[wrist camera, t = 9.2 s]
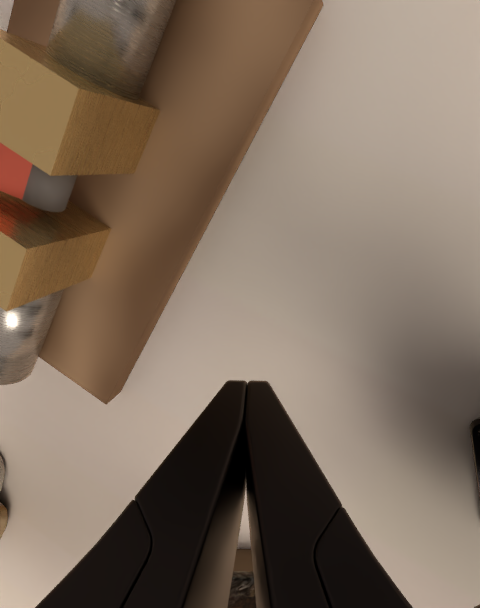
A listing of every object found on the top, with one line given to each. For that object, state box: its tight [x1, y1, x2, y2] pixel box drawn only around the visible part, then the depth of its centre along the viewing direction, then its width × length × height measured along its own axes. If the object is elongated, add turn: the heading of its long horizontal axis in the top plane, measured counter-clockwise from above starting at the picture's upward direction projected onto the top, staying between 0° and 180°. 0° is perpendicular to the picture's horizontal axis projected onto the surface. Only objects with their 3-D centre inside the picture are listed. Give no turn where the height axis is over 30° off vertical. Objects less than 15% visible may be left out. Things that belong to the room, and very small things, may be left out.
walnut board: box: [7, 0, 323, 404], centre depth 21 cm, size 12×22×2 cm, turn 150°
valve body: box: [0, 0, 176, 385], centre depth 17 cm, size 4×22×6 cm, turn 150°
